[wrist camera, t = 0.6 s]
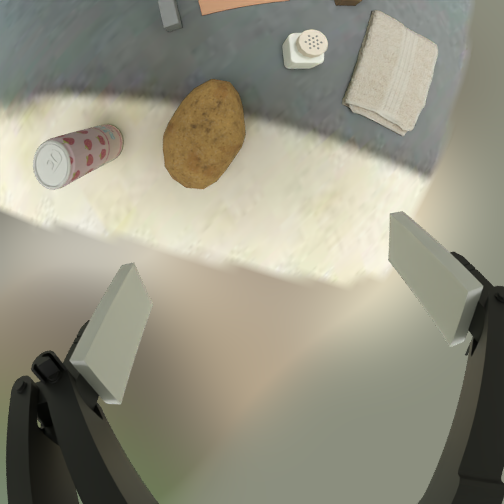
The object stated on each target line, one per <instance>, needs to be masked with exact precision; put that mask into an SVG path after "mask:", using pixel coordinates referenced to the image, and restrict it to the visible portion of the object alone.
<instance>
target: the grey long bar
mask: <svg viewBox="0 0 504 504" xmlns="http://www.w3.org/2000/svg"><path fill="white" fill-rule="evenodd" d="M158 4H159V9H160V13H161V17H162V22H163V26H164V28H165V29H166V30H167V31H168V32H170V31H173V30H176V29H179V28H182V24H181V20H180V16H179V11H178V7H177V3H176V0H158Z"/></svg>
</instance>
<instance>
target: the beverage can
mask: <svg viewBox="0 0 504 504" xmlns="http://www.w3.org/2000/svg"><path fill="white" fill-rule="evenodd" d="M122 148H123V138H122V135H121V133H120V131H119V130H118V129H117V128H116V127H115V126H112V125H108V124H107V125H101V126H96V127H92V128H88V129H84V130H80V131H76V132H72V133H69V134H65V135H61V136H58V137H55V138H51V139H49V140H47V141H46V142H44V143H43V144H41V145H40V146H39V148H38V149H37V151H36V153H35V156H34V160H33V169H34V173H35V176H36V178H37V180H38V181H39V183H40V184H41V185H42V186H44V187H46V188H47V189H59V188H62V187H64V186H66V185H68V184H69V183H71V182H73V181H75V180H76V179H78V178H80V177H82V176H84V175H85V174H87V173H89V172H91V171H93V170H95V169H97V168H99V167H100V166H102V165H104V164H106V163H108V162H110V161H112V160H114V159H116V158H117V157H118V156H119V154H120V153H121V151H122Z"/></svg>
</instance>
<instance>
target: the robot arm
mask: <svg viewBox="0 0 504 504" xmlns="http://www.w3.org/2000/svg"><path fill="white" fill-rule="evenodd" d="M388 260H389V262H390V263H391V264H392V266H393V267H394V268H395V269H396V271H397V272H398V273H399V274H400V276H401V277H402V279H403V280H404V281H405V283H406V284H407V285H408V286H409V288H410V289H411V291H412V292H413V293H414V295H415V296H416V298H417V299H418V300H419V302H420V303H421V304H422V306H423V307H424V309H425V310H426V312H427V313H428V315H429V316H430V317H431V319H432V320H433V322H434V323H435V325H436V326H437V328H438V329H439V331H440V332H441V334H442V335H443V337H444V338H445V340H446V341H447V343H448V345H449V346H450V347H452V346H454V345H456V344H458V343H461V342H463V341H464V340H465V338H466V335H467V333H468V330H469V331H470V333H471V334H472V336H473V337H472V340H471V342H470V345H469V347H468V349H467V352H466V354H465V355H468V353H469V355H468V361H467V366H466V371H465V376H464V381H463V386H462V390H461V394H460V398H459V402H458V406H457V409H456V413H455V417H454V420H453V423H452V426H451V429H450V433H449V436H448V439H447V442H446V444H445V447H444V450H443V452H442V455H441V458H440V460H439V463H438V465H437V468H436V470H435V472H434V475H433V477H432V479H431V481H430V484H429V486H428V488H427V490H426V492H425V494H424V496H423V497H422V499H421V500H420V501H419V503H418V504H502V501H503V498H504V483H503V482H502V481H501V475H502V471H503V467H504V287H503V286H496V287H494V286H493V285H492V284H491V283H490V282H489V281H488V280H487V279H485V277H484V276H483V275H482V274H481V273H480V272H479V271H478V270H476V269H475V267H474V266H473V265H472V264H470V263H469V262H468V261H467V260H466V259H465V258H464V257H463V256H461V255H459V254H457V253H455V252H448V250H446V249H445V248H444V247H443V246H442V245H441V244H440V243H439V242H438V241H437V240H435V239H434V238H433V237H432V236H431V235H430V234H429V233H427V232H426V231H425V230H424V229H423V228H422V227H421V226H420V225H418V224H417V223H416V222H415V221H414V220H412V219H411V218H410V217H409V216H408V215H406V214H405V213H404V212H403V211H402V212H396V213H390V235H389V259H388ZM152 306H153V303H152V301H151V299H150V297H149V295H148V293H147V291H146V288H145V286H144V284H143V282H142V280H141V277H140V275H139V273H138V271H137V268H136V266H135V264H134V263H130V264H125V265H122V266H121V267H120V269H119V271H118V272H117V274H116V276H115V277H114V279H113V281H112V282H111V284H110V286H109V287H108V289H107V291H106V292H105V294H104V296H103V298H102V299H101V301H100V303H99V305H98V307H97V308H96V310H95V312H94V314H93V316H92V317H91V319H90V320H88V321H87V322H86V323H85V324H84V325H83V326H82V327H81V329H80V331H79V333H78V335H77V338H75V340H74V342H73V343H74V344H72V346H71V348H70V350H69V352H68V354H67V356H66V358H65V360H64V362H63V363H62V362H61V361H60V359H59V358H58V357H57V356H56V354H55V353H54V352H53V351H45V352H43V353H41V354H40V355H39V356H38V357H37V358H36V359H35V360H34V362H33V364H32V368H31V370H32V372H33V373H34V374H35V375H36V376H37V377H38V378H39V380H40V382H37V383H35V382H34V381H33V380H32V379H31V378H30V377H29V376H22V377H20V378H19V379H17V380H16V382H15V383H14V385H13V387H12V391H11V398H10V406H9V415H8V427H7V446H6V472H7V473H6V476H7V494H8V504H79V502H78V496H77V492H78V494H79V496H80V499H81V501H82V503H83V504H159V503H158V502H157V501H156V500H155V498H154V497H153V495H152V494H151V492H150V491H149V489H148V488H147V487H146V485H145V484H144V482H143V481H142V479H141V478H140V476H139V475H138V473H137V471H136V470H135V468H134V467H133V465H132V464H131V462H130V460H129V459H128V457H127V455H126V454H125V452H124V450H123V448H122V447H121V445H120V443H119V441H118V440H117V438H116V436H115V434H114V432H113V430H112V429H111V426H110V425H109V422H108V421H107V419H106V417H105V414H104V413H103V410H102V408H101V407H100V405H99V404H98V403H97V400H98V396H100V397H101V398H102V399H103V401H104V402H105V403H107V404H121V402H122V399H123V395H124V392H125V388H126V385H127V382H128V378H129V374H130V372H131V368H132V365H133V362H134V359H135V355H136V353H137V350H138V346H139V343H140V340H141V337H142V334H143V331H144V329H145V326H146V323H147V320H148V317H149V314H150V311H151V308H152ZM37 420H38V421H39V422H40V423H41V428H39V427H38V425H37ZM76 490H77V492H76Z"/></svg>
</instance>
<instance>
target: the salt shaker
mask: <svg viewBox="0 0 504 504" xmlns="http://www.w3.org/2000/svg"><path fill="white" fill-rule="evenodd" d="M327 46H328V41H327V39H326V36H324V35H323V34H322V33H321V32H320V31H317V30H313V29H311V30H306V31H304V32H303V33H292V34H290V35H289V36H288V37H287V39H286V40H285V42H284V43H283V46H282V48H283V58H284V65H285V67H286V68H288V69H310V68H313V67H315V66H317V65H319V64H321V63H323V61H324V52H325V51H326V50H327Z"/></svg>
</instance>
